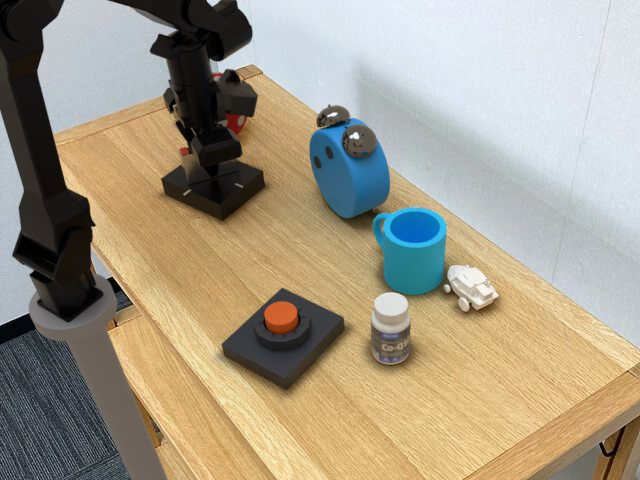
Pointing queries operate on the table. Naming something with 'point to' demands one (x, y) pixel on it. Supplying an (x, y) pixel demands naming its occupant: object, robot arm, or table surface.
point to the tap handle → (198, 173)
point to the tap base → (216, 190)
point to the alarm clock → (348, 163)
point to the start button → (281, 317)
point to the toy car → (470, 287)
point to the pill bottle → (390, 328)
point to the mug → (412, 249)
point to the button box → (284, 340)
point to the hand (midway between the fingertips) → (211, 171)
